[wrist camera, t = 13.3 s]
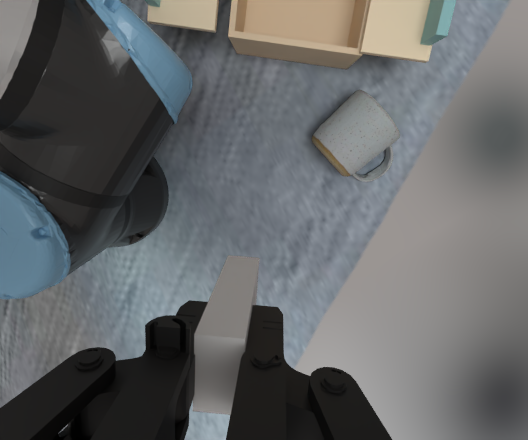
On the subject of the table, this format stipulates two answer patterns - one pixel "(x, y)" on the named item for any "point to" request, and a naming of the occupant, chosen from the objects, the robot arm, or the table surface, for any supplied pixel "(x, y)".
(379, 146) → the ceramic mug
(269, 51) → the carton
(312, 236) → the table surface
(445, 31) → the lid
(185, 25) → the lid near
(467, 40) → the table surface
